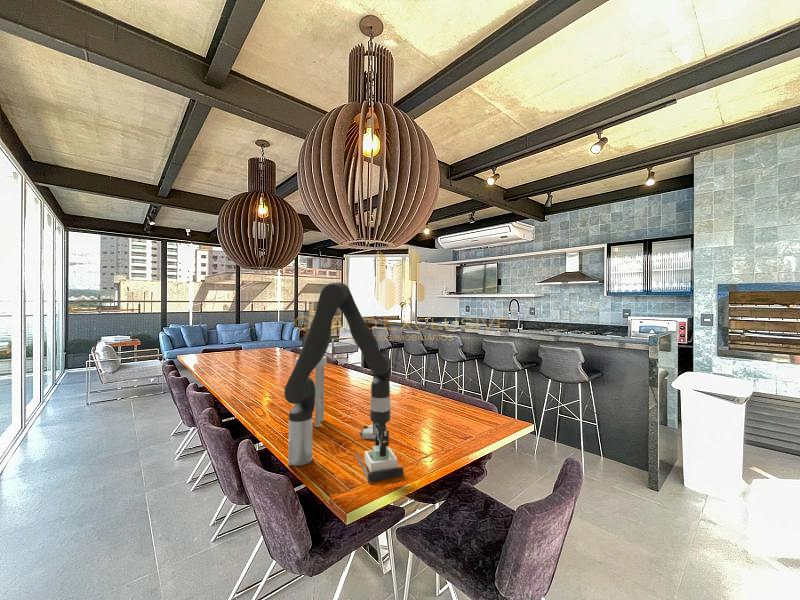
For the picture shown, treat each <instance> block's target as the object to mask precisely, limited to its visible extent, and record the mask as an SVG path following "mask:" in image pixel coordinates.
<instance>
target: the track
mask: <svg viewBox="0 0 800 600" xmlns="http://www.w3.org/2000/svg"><path fill="white" fill-rule="evenodd" d="M355 455H356V458H357V459H358V460H357V461H358V463H359V464H360V467H361V469H362V470H363V473H364V475H365V478H366V480H367V483H372V482H379V481H384V480H389V479H390V480H391V479H397V478H401V477H404V467H403V466H399V467H398V468H392V469H387V470H381V471H375V472H370V471H369V472H368V471H367V468H366V466H365V465H364V462H363V461H362V458H361V456H360V455H359V453H355Z"/></svg>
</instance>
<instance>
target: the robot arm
mask: <svg viewBox="0 0 800 600" xmlns="http://www.w3.org/2000/svg"><path fill="white" fill-rule="evenodd" d="M338 309H339V310H340V311H341V313H342V314H343V315H344V317H345V320H346V321H347V325H348V328H349V331H350V335H351V336H352V338H353V341H354V342H355V344H356V345H357V347H358V349H359V350H360V351H361V353H362V355H363V358H364V361H365V362H366V364H367V366H368V368H369V369H370V371H371V373H373V375H372V381H371V384H370V385H371V386H370V403H369V404H370V421H371V422H372V425H373V435H374V438H375V439H374V446H377V445H380V456H381V457H384V456H386V447H389V439H390V437H389V436H390V435H389V434H390V431H389V430H388V428H387V426H386V425H387V423H388V422H390V420H391V397H390V396H391V395H390V394H391V392H390V391H391V387H390V385H391V384H390V381H391V380H390V379H391V369H392V362H391V358H390V356H388V355H387V354H385V353H382V351H381V350H380V349H381V348H380V347H379V343H378V340H377V339H376V337H375V336H374V334H373V333H372V331H371V329H370V328H369V326H368V325H367V323H366V322H365V320H364V318H363V316H362V314H361V313H360V311H359V308H358V306H357V304H356V302H355V299H354V297H353V295H352V292H351V290H350V288H349V286H347V285H346V284H345V283H344V282H329V283H327V284H325V285H324V286H323V287H322V289H321V291H320V294H319V298H318V302H317V306H316V310H315V312H314V316H313V319H312V321H311V323H310V326H309V329H308V332H307V333H306V336H305V339H304V341H303V344H302V347H301V351H300V353H299V356H298V357H299V358H298V360H297V363H296V365H295V364H294V368H293V370H292V372H291V374H290V376H289V378H288V380H287V381H286V384H285V386H284V398H285V401H286V402H287V403H289V404H291V405H292V404H294V405H293V407H292V408H291V409H290V410H289V412H288V466H297V467H298V466H300V467H301V466H305V465H308V464H310V463H311V462H312V460H313V414H314V412H315V381H314V380H313V378H311V377H310V376H311V374H312V372H313V371H314V369H315V367H316V366H317V365H318V363H319V362H320V361H321V360H322V358H323V357H324V356H326V353H327V350H328V348H329V345H330V342H331V338H332V324H333V319H334V317H335V315H336V312H337V310H338Z"/></svg>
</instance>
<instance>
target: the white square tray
mask: <svg viewBox="0 0 800 600" xmlns="http://www.w3.org/2000/svg"><path fill="white" fill-rule="evenodd" d="M387 448H388V450H389V459H388V460H382V461H375V462H374V461H373V459H372V450H366V451H364V462H365V468H366V469H368V470H369V472H375V471H381V470H387V469H392V468H398V465H399V463H398V460H399V459H398V458H397V456H396V455H395V453H394V452H393V451H392V449H391V448H390V447H387Z"/></svg>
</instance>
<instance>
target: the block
mask: <svg viewBox="0 0 800 600" xmlns="http://www.w3.org/2000/svg"><path fill="white" fill-rule="evenodd" d="M371 448H372V459H373V461H374V462H375V461H382V460H388V459H389V450H388V448H389V447H388V446H386V456H384V457H381V456H380V445H377V446H375V445H372V447H371Z"/></svg>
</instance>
